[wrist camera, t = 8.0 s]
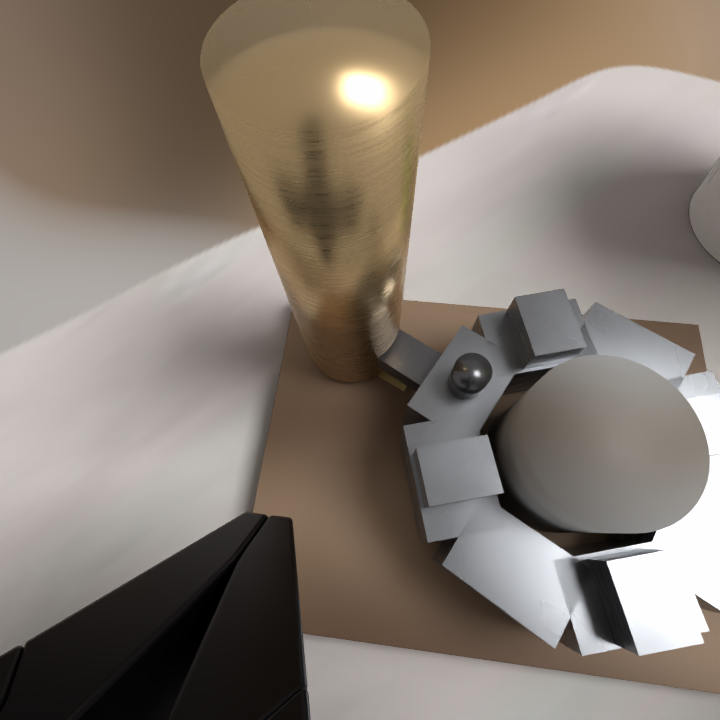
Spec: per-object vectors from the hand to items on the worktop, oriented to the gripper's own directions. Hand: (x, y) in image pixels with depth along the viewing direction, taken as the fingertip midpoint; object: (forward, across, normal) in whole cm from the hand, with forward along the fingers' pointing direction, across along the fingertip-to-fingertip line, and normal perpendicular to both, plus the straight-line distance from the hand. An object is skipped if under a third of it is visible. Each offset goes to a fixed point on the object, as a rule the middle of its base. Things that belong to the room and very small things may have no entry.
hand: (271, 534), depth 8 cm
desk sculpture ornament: (+7, +5, -1) cm, 9 cm away
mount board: (+7, +5, -3) cm, 9 cm away
